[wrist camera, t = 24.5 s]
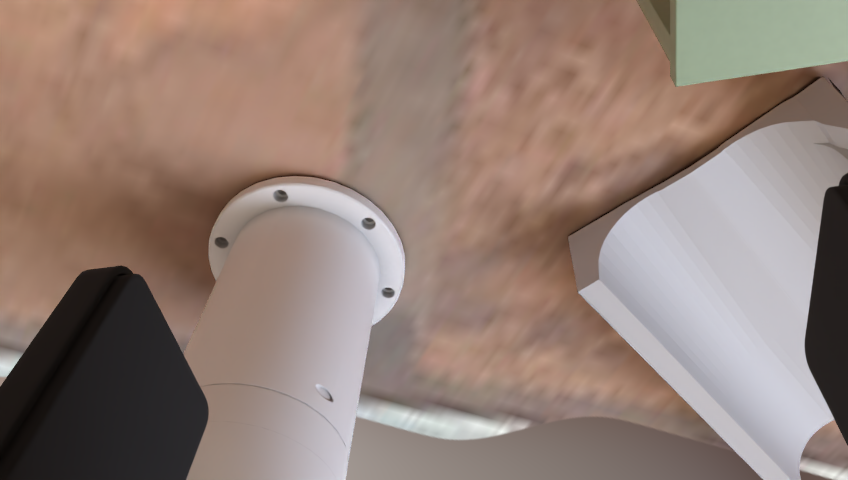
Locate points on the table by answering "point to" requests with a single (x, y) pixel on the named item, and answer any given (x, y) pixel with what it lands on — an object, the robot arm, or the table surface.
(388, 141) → the table surface
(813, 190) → the grey storage tray
